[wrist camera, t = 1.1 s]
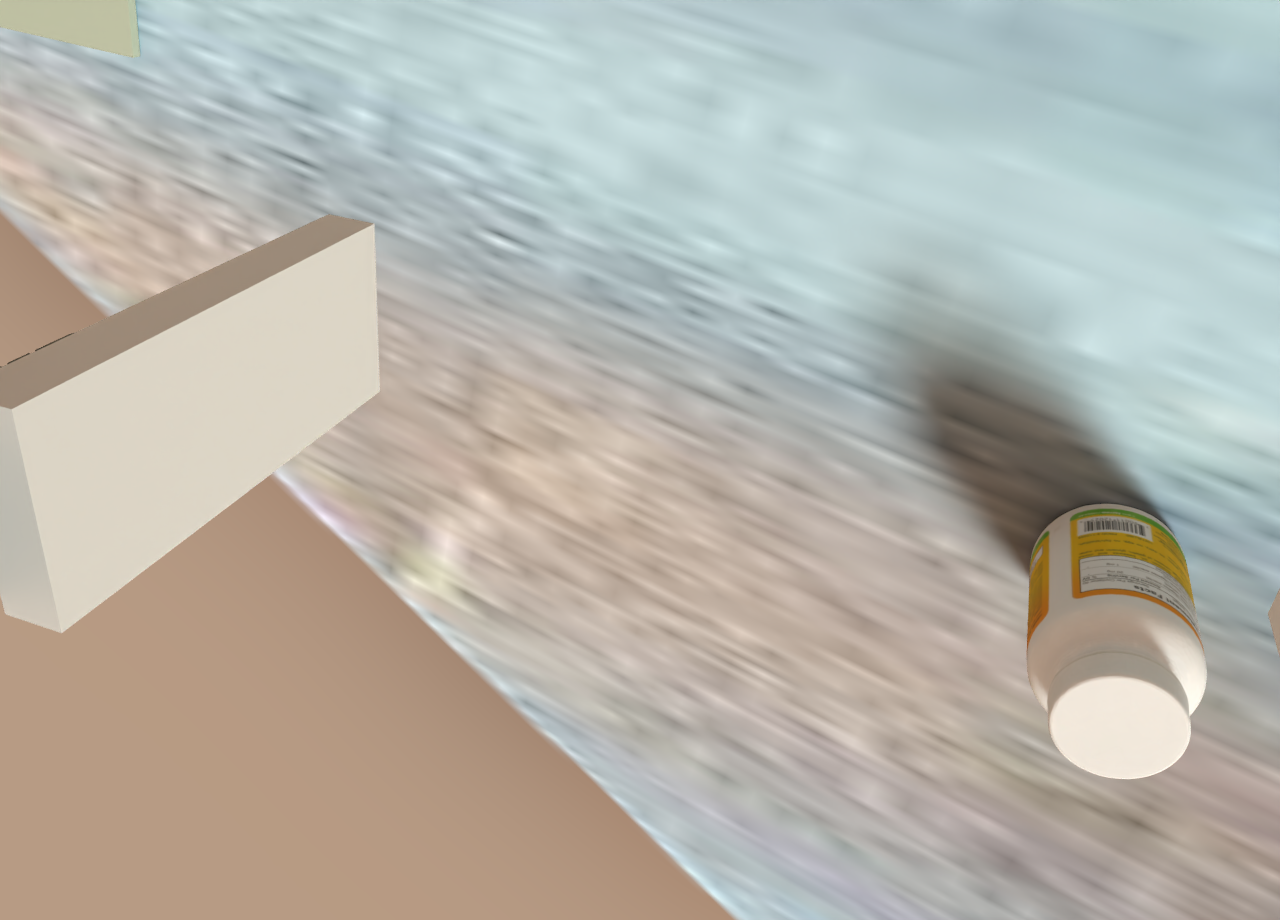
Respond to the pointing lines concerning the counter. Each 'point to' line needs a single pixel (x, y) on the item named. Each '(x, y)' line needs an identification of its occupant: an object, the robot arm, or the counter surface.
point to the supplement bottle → (1114, 640)
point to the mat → (77, 22)
